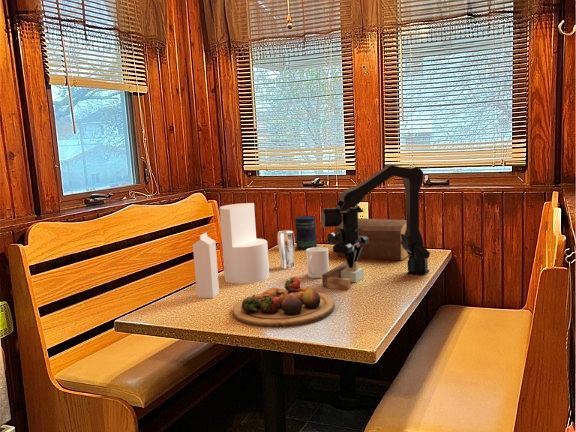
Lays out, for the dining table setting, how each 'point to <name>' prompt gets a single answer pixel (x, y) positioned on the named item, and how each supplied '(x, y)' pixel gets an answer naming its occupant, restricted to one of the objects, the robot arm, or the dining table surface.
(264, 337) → the dining table surface
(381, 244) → the wooden bread box
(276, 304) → the wooden plate with food
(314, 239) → the storage jar
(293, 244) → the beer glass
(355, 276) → the square base with post
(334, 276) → the cleat board
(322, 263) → the mug
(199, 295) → the milk
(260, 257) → the stepped white drum
